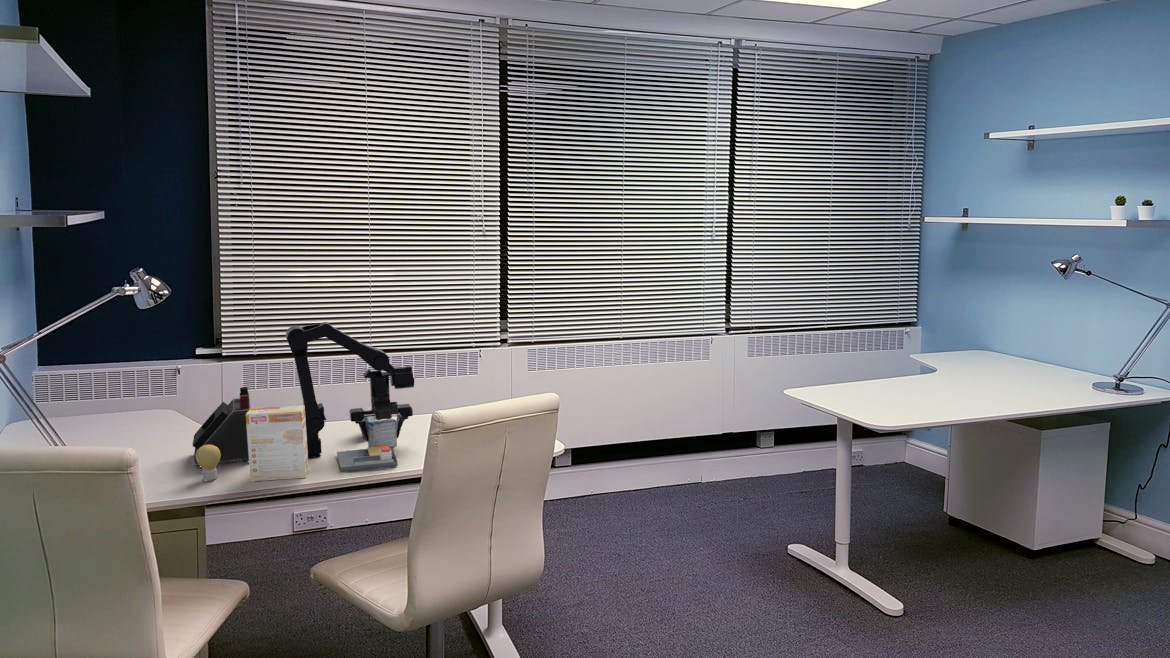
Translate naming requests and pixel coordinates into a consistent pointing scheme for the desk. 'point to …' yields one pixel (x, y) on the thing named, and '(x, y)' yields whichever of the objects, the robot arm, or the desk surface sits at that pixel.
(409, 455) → the desk surface
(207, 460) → the light bulb
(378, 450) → the pad
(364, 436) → the electrical switch
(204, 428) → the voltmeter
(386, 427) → the medicine box
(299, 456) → the coffeecake box
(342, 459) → the panel
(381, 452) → the breaker toggle
